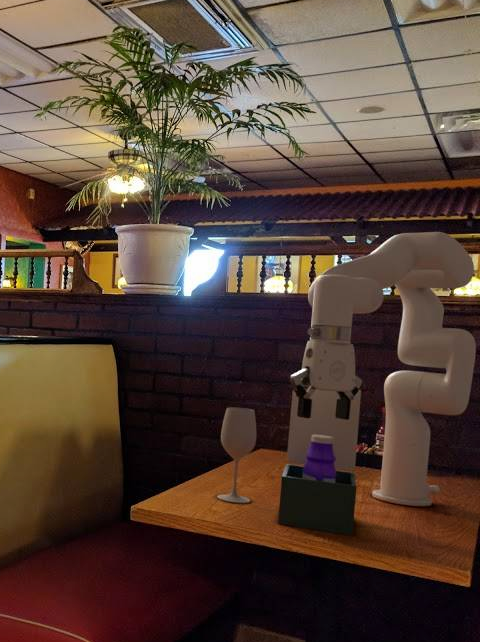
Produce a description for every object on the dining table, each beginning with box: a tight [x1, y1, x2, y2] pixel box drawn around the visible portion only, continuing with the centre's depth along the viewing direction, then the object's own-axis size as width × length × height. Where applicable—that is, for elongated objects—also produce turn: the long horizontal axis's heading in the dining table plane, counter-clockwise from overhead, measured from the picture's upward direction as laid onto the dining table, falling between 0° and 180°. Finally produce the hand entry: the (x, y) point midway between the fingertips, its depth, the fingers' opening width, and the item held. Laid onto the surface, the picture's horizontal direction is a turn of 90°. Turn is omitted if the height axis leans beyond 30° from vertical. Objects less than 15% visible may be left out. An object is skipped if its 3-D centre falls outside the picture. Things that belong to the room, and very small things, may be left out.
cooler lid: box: [286, 389, 362, 472], centre depth 165 cm, size 18×14×1 cm
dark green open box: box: [277, 463, 357, 536], centre depth 157 cm, size 17×14×10 cm
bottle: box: [302, 435, 336, 483], centre depth 155 cm, size 7×6×17 cm
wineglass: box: [216, 406, 257, 504], centre depth 172 cm, size 8×8×21 cm
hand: (323, 418), depth 155 cm, fingers open, 9 cm apart
